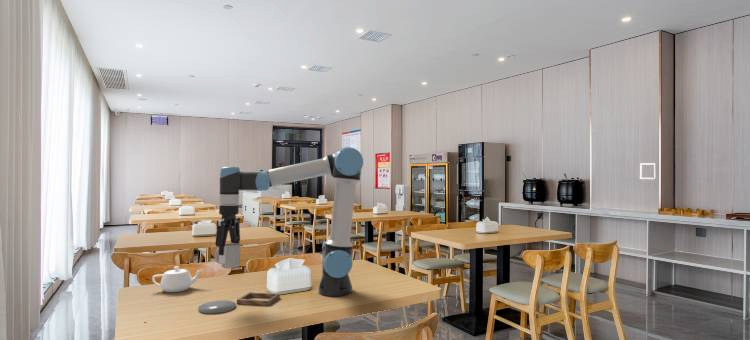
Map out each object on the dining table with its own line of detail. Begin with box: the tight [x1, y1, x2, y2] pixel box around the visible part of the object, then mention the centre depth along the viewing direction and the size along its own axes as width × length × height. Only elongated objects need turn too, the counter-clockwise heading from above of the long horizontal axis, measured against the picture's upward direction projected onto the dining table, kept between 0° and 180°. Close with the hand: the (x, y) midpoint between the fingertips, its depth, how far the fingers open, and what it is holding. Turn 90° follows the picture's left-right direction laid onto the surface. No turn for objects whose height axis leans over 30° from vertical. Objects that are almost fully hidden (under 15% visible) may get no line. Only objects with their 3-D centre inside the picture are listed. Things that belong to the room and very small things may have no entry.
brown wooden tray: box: [236, 291, 281, 307], centre depth 181 cm, size 14×11×2 cm
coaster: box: [197, 300, 237, 315], centre depth 171 cm, size 14×14×1 cm
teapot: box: [151, 265, 203, 293], centre depth 199 cm, size 22×14×11 cm, turn 109°
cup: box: [214, 242, 241, 269], centre depth 174 cm, size 7×10×9 cm
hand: (227, 261), depth 174 cm, fingers closed on cup, 7 cm apart
